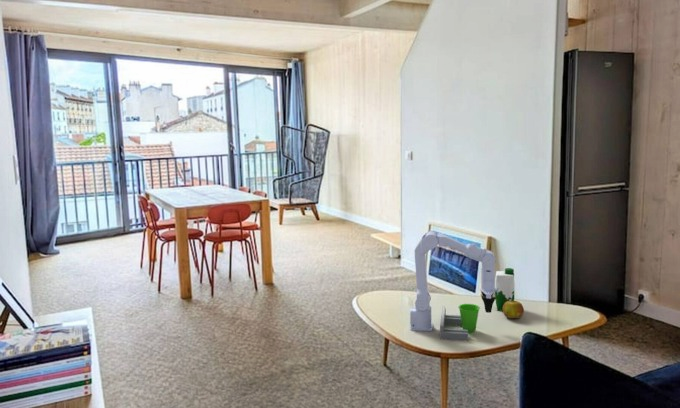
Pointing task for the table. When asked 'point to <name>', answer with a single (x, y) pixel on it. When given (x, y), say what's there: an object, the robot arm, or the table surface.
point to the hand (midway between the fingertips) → (488, 309)
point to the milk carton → (504, 287)
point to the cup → (469, 316)
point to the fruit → (513, 309)
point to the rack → (452, 333)
